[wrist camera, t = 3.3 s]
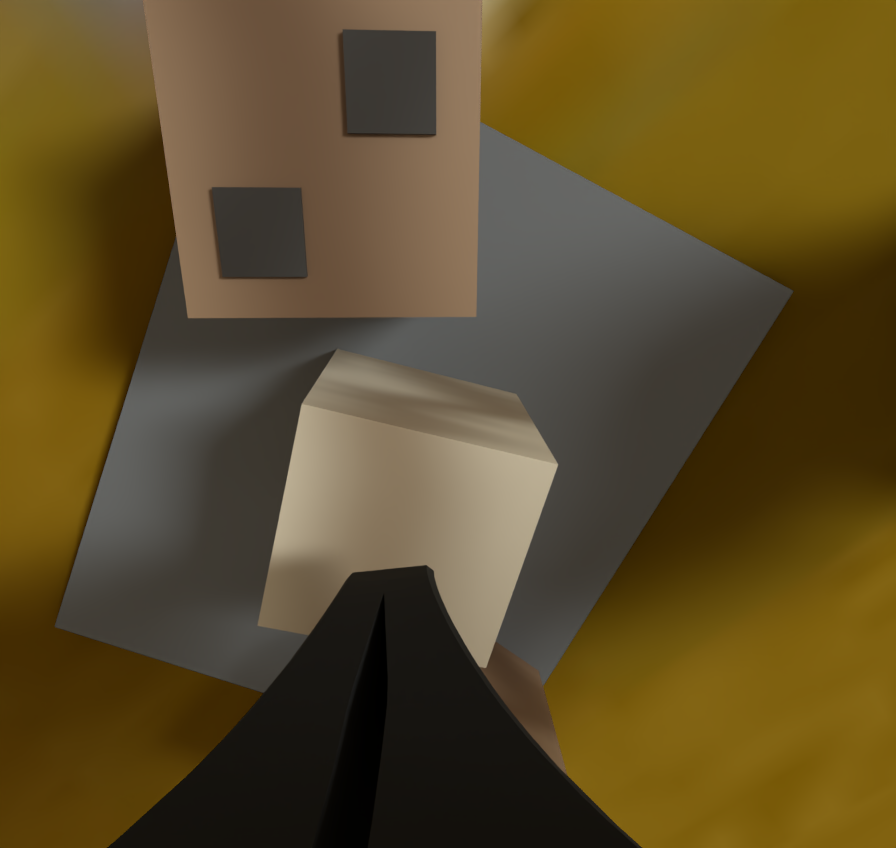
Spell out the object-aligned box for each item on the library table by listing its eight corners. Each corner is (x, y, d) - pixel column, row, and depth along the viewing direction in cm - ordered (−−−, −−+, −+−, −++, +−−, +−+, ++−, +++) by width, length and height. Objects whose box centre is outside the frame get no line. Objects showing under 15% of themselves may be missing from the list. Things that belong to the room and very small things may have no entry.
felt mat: (784, 289, 16) (793, 291, 15) (491, 755, 21) (492, 765, 20) (255, 4, 13) (250, -2, 13) (62, 618, 18) (54, 626, 18)
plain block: (516, 393, 16) (558, 464, 11) (467, 548, 17) (486, 668, 13) (337, 348, 15) (301, 403, 11) (302, 513, 17) (256, 626, 12)
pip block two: (459, 66, 13) (483, -24, 9) (457, 288, 15) (477, 317, 10) (238, 62, 13) (135, -32, 8) (261, 288, 15) (185, 319, 10)
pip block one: (538, 670, 19) (579, 820, 14) (441, 762, 20) (448, 930, 15) (421, 590, 18) (422, 725, 13) (324, 693, 19) (292, 852, 14)
